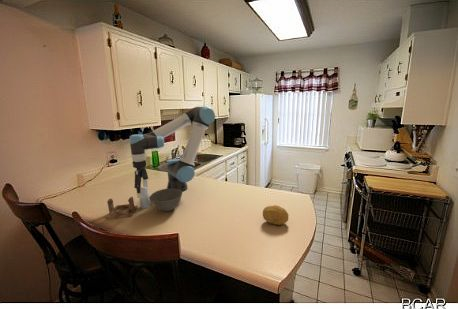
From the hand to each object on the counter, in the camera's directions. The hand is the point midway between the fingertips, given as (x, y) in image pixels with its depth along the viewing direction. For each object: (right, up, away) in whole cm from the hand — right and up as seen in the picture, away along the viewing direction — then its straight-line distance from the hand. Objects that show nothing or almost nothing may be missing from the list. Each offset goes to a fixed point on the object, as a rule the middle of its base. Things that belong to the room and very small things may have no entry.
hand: (143, 193), depth 135 cm
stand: (-10, -11, -5) cm, 16 cm away
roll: (+1, -9, +2) cm, 9 cm away
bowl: (+16, -10, -3) cm, 19 cm away
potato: (+78, -12, -22) cm, 82 cm away
